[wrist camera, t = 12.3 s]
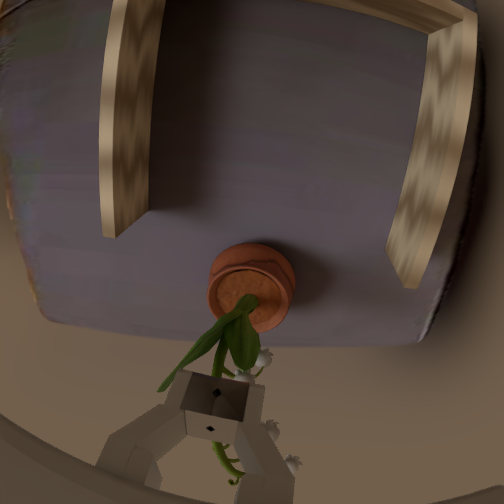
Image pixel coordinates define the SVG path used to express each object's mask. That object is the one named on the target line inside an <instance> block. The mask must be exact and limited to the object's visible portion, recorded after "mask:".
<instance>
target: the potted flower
mask: <svg viewBox="0 0 504 504" xmlns="http://www.w3.org/2000/svg"><path fill="white" fill-rule="evenodd" d="M295 285H296V281H295V274H294V271H293V269H292V266H291V265H290V263H289V262H288V260H287V259H286V258H285V257H284V256H283V255H282V254H280V253H279V252H278V251H276V250H274V249H273V248H271V247H268V246H266V245H262V244H257V243H242V244H237V245H234V246H231V247H229V248H227V249H226V250H224V251H223V252H222V253H220V254H219V255H218V256H217V258H216V259H215V261H214V262H213V264H212V267H211V270H210V275H209V287H208V290H207V302H208V306H209V308H210V310H211V312H212V314H213V315H214V316H215V318H216V319H217V322H216V323H215V325H214V326H213V327H212V328H211V329H210V330H208V331H207V332H206V333H205V334H203V335H202V336H201V337H200V338H199V339H198V341H197V342H196V343H195V345H194V346H193V347H192V348H191V350H190V351H189V352H188V353H187V355H186V356H185V357H184V358H183V360H182V361H181V362H180V363H179V365H178V366H177V367H176V368H175V369H174V370H173V372H172V373H171V374H170V375H169V376H168V377H167V378H166V379H165V381H164V382H163V383H162V384H161V386H160V387H159V389H158V390H157V392H163V391H165V390H166V389H167V388H168V386H169V385H170V384H171V382H172V381H173V380H174V377H175V375H176V372H177V371H178V370H179V368H180V369H183V367H185V366H186V365H188V364H189V363H191V362H193V361H194V360H196V359H197V358H199V357H200V356H202V355H204V354H205V353H207V352H208V351H209V350H210V349H211V348H212V347H213V346H214V345H215V344H216V343H217V341H218V340H219V339H220V338H221V339H220V342H219V345H218V348H217V351H216V354H215V359H214V364H213V370H212V375H211V376H213V377H218V378H221V376H222V373H224V374H226V375H227V376H229V377H231V378H233V380H237V381H243V382H249V383H252V384H255V380H254V379H255V378H256V377H257V376H259V374H260V373H261V372H262V370H263V368H266V367H268V366H269V365H270V364H271V361H272V358H271V356H272V355H273V354H272V353H270V352H269V348H264V349H263V351H262V350H261V349H260V346H261V345H260V340H259V335H258V333H261V332H265V331H268V330H270V329H273V328H274V327H276V326H277V325H279V324H280V323H281V322H282V321H283V319H284V318H285V316H286V315H287V312H288V309H289V304H290V303H291V301H292V298H293V295H294V291H295ZM228 348H229V350H230V353H231V355H232V358H233V361H234V363H235V365H236V366H237V367H238V368H239V369H241V370H243V373H242V371H241V370H239V369H238V370H235V374H236V375H234V374H233V373H231V372H230V371H229V370H228V369H226V368H225V367H224V361H225V357H226V354H227V351H228ZM254 365H256V366H257V367H260V368H261V370H260V371H259V372H258V373H257V374H256V375H251V374H250V372H251V369H250V368H252V367H254ZM249 385H250V384H249ZM277 424H278V422H274V423H273V420H268V421H266V425H265V423H264V422H260V425H262V426H265V428H266V430H267V432H268V433H269V435H270V437H271V439H272V440H273V442H275V441H277V440H278V438H279V435H280V430H279V429H278V428H277V426H276V425H277ZM212 443H213V450H214V451H215V453H216V455H217V457H218V459H219V461H220V463H221V465H222V466H223V467H224V468H225V469H226V471H227V472H229V473H230V474H232V475H234V476H235V477H237V480H236V482H235V483H234V482H233V480H229V481H228V483H229V485H232V486H234V485H237V484H238V482H239V478H241V477H242V476H243V475H244V474H246V473H245V472H241V471H239V470H236V469H235V468H234V467H233V466H232V464H231V463H235V462H239V461H240V460H239V458H238V459H228V458H227V456H226V454H225V451H224V449H226V448H228V447H229V445H230V444H227V445H225V446H223V445H222V443H221V442H217V441H212ZM286 455H287V456H286V458H285V459H284V461H285V462H286V464H287V466H288V467H289V469H290V471H291V472H292V474H293V473H295V472H296V471H297V470H298V468H299V465H300V464H302V462H300V461H298V460H299V457H298V456H294V457H293V458H292V456H291V455H290V454H286ZM230 462H231V463H230Z"/></svg>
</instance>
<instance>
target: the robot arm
mask: <svg viewBox="0 0 504 504" xmlns="http://www.w3.org/2000/svg"><path fill="white" fill-rule="evenodd" d="M249 384H250V385H249ZM264 391H265V386H264V385H259V384H252V383H249V382H243V381H237V380H230V379H225V378H218V377H213V376H209V375H204V374H200V373H196V372H193V371H188V370H184V369H180V368H179V370H178V371H177V372H176V375H175V377H174V380H173V382H172V385H171V388H170V390H169V393H168V395H167V398H166V400H165V403H164V405H162V404H159V405H157V406H156V407H154V408H152V409H151V410H149V411H148V412H146V413H145V414H143V415H142V416H140V417H138V418H137V419H136V420H134V421H132V422H130V423H129V424H127V425H126V426H124V427H122V428H121V429H119V430H118V431H116V432H114V433H113V434H111V435H109V437H108V439H107V442H106V443H105V446H104V448H103V450H102V452H101V455H100V457H99V459H98V461H97V463H96V465H95V466H93V465H91V464H89V463H86V462H84V461H82V460H80V459H78V458H76V457H73V456H72V455H70V454H68V453H66V452H63V451H62V450H60V449H58V448H56V447H54V446H52V445H51V444H49V443H47V442H45V441H43V440H42V439H40V438H38V437H36V436H35V435H33V434H31V433H29V432H28V431H26V430H25V429H23V428H21V427H20V426H18V425H17V424H15V423H14V422H12V421H11V420H9V419H8V418H6V417H5V416H3V415H2V414H0V504H214V503H210V502H205V501H200V500H196V499H192V498H187V497H183V496H179V495H175V494H172V493H169V492H165V491H162V490H159V489H160V485H161V482H162V476H161V474H160V471H159V469H158V466H157V463H156V461H158V460H159V459H160V458H161V457H163V456H164V455H165V454H166V453H167V452H169V451H170V450H171V449H172V448H173V447H175V445H177V444H178V443H179V442H181V440H183V439H184V438H185V437H186V435H189V436H193V437H198V438H203V439H208V440H212V441H217V442H221V443H226V444H231V445H234V448H235V451H236V453H237V455H238V458H239V460H240V462H241V465H242V467H243V469H244V471H245V473H246V474H244V475H243V476H242V477H241V480H240V483H239V486H238V489H237V492H236V495H235V499H234V504H293V495H294V483H295V477H294V476H293V475H292V472H291V471H290V469H289V467H288V466H287V464H286V462H285V461H284V459H283V457H282V456H281V454H280V452H279V451H278V449H277V447H276V446H275V444H274V442H273V440H272V439H271V437H270V435H269V433H268V432H267V430H266V428H265V426H262V425H260V420H261V414H262V407H263V399H264ZM429 504H504V486H503V485H495V486H492V487H489V488H486V489H483V490H479V491H476V492H473V493H470V494H466V495H463V496H459V497H455V498H452V499H447V500H443V501H438V502H434V503H429Z"/></svg>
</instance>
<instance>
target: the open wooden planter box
mask: <svg viewBox="0 0 504 504" xmlns="http://www.w3.org/2000/svg"><path fill="white" fill-rule="evenodd" d="M299 1H305V2H312V3H318V4H323V5H328V6H333V7H338V8H343V9H347V10H351V11H356V12H360V13H363V14H367V15H371V16H374V17H378V18H381V19H385V20H388V21H391V22H394V23H397V24H400V25H403V26H406V27H409V28H412V29H415V30H417V31H420V32H423V33H425V34H428V46H427V56H426V65H425V74H424V81H423V89H422V95H421V102H420V108H419V114H418V119H417V125H416V130H415V135H414V140H413V145H412V150H411V154H410V159H409V163H408V167H407V172H406V176H405V180H404V184H403V188H402V192H401V195H400V199H399V203H398V206H397V210H396V213H395V217H394V220H393V224H392V227H391V230H390V234H389V237H388V240H387V243H386V246H385V252H386V253H387V255H388V257H389V259H390V261H391V263H392V265H393V267H394V268H395V270H396V272H397V274H398V276H399V278H400V280H401V282H402V284H403V286H404V287H405V288H412V289H418V286H419V284H420V281H421V279H422V277H423V274H424V272H425V269H426V267H427V264H428V262H429V259H430V256H431V254H432V251H433V248H434V245H435V243H436V240H437V237H438V234H439V231H440V228H441V225H442V222H443V219H444V216H445V213H446V210H447V206H448V203H449V200H450V196H451V193H452V189H453V186H454V182H455V178H456V174H457V170H458V166H459V162H460V158H461V153H462V149H463V144H464V139H465V134H466V129H467V124H468V118H469V112H470V105H471V99H472V91H473V83H474V73H475V62H476V47H477V14H476V13H474V12H472V11H471V10H469V9H467V8H465V7H463V6H461V5H459V4H457V3H455V2H453V1H450V0H299ZM165 3H166V0H114V1H113V7H112V12H111V17H110V23H109V29H108V35H107V42H106V50H105V58H104V67H103V77H102V88H101V103H100V124H99V181H100V204H101V219H102V231H103V236H104V237H109V238H115V239H116V238H117V237H118V236H119V235H120V234H121V233H122V232H124V231H125V230H126V229H127V228H128V227H129V226H131V225H132V224H133V223H134V222H135V221H136V220H138V219H139V218H140V217H141V216H142V215H144V214H145V213H146V212H147V211H148V178H149V147H150V128H151V113H152V101H153V89H154V79H155V70H156V62H157V54H158V46H159V39H160V32H161V26H162V20H163V14H164V8H165Z"/></svg>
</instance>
